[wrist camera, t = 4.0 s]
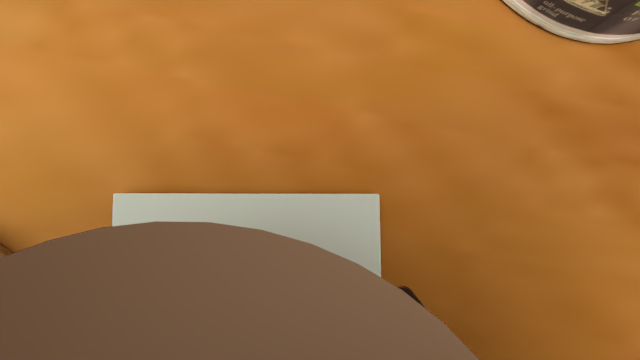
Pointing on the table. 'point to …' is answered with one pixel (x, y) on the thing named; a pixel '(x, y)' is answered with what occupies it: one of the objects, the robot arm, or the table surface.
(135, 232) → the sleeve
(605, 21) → the coffee can
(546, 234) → the table surface
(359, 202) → the stand
